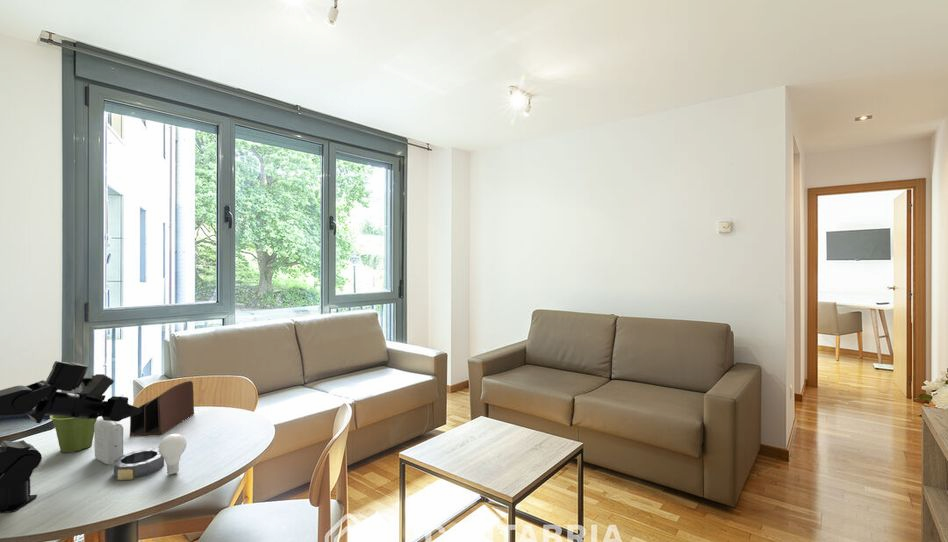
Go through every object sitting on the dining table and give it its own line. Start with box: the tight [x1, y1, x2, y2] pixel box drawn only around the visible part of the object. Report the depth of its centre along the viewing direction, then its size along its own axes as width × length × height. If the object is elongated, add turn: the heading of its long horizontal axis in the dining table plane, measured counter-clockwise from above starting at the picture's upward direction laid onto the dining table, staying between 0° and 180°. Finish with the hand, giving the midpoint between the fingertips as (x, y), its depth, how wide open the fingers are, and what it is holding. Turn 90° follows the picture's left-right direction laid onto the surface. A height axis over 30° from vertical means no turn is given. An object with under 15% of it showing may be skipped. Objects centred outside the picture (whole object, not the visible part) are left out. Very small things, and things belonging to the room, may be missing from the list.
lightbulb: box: [157, 433, 187, 475], centre depth 119 cm, size 6×6×11 cm
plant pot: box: [49, 415, 99, 453], centre depth 135 cm, size 12×12×11 cm
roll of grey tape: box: [113, 448, 165, 481], centre depth 121 cm, size 12×11×4 cm
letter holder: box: [129, 380, 195, 437], centre depth 154 cm, size 10×20×14 cm, turn 4°
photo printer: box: [93, 417, 124, 466], centre depth 127 cm, size 10×4×12 cm, turn 60°
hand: (131, 410), depth 125 cm, fingers open, 9 cm apart
